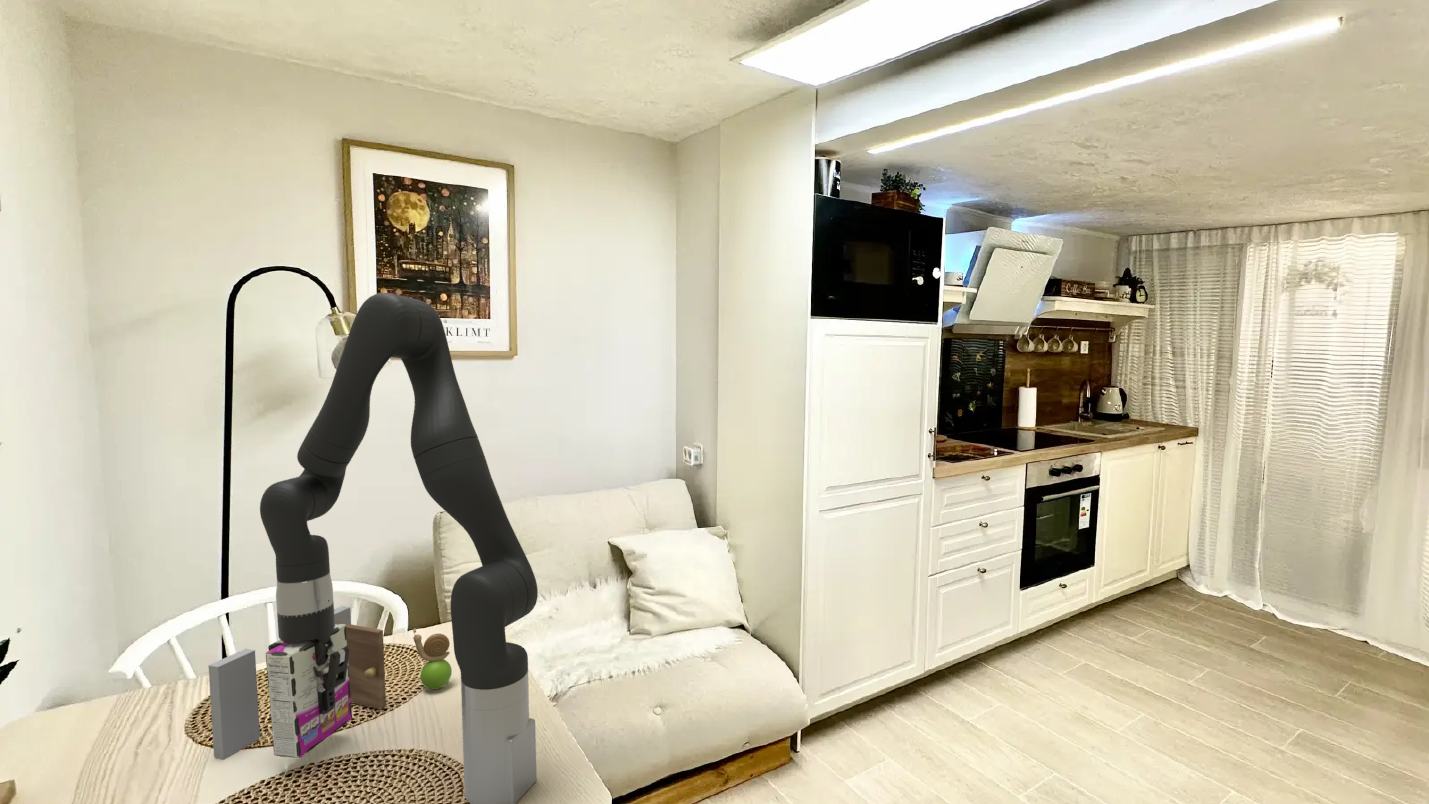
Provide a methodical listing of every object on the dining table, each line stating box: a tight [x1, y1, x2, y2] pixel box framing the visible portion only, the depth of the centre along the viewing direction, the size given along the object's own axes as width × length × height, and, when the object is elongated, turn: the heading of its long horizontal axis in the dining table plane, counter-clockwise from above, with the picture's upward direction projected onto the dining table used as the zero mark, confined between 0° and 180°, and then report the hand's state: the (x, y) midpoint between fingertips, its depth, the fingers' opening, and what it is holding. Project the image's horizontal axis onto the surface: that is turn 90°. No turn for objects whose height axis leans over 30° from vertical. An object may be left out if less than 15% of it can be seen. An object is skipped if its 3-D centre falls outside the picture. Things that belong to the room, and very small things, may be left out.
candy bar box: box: [265, 624, 353, 759], centre depth 104 cm, size 11×5×16 cm, turn 169°
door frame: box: [208, 605, 352, 761], centre depth 115 cm, size 2×25×15 cm, turn 163°
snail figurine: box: [412, 628, 452, 690], centre depth 125 cm, size 5×6×12 cm
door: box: [335, 622, 387, 710], centre depth 119 cm, size 2×12×14 cm, turn 71°
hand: (312, 708), depth 104 cm, fingers closed on candy bar box, 5 cm apart
